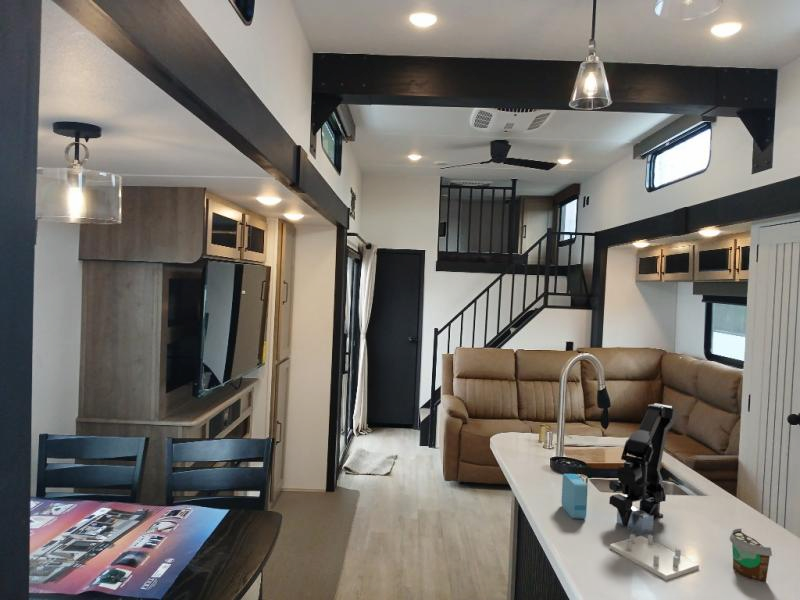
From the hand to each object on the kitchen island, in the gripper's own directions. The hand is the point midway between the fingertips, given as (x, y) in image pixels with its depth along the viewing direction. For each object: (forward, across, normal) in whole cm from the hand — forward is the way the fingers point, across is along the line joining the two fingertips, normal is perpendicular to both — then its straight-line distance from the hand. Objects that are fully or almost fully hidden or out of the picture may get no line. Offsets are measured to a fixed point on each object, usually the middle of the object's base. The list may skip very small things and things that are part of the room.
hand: (634, 524), depth 178 cm
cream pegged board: (+1, +12, +16) cm, 20 cm away
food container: (+2, -5, +32) cm, 32 cm away
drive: (+1, 0, 0) cm, 1 cm away
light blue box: (+2, +10, -17) cm, 20 cm away
